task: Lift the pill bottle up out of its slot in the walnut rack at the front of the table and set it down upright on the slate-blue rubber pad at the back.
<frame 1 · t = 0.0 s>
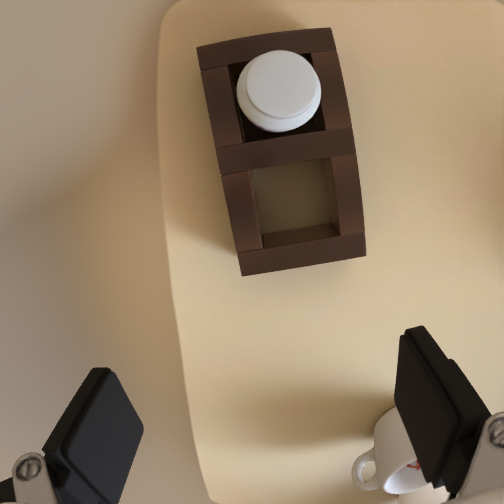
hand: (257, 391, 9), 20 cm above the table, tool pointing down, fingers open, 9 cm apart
rack: (283, 148, 26), on the table
cup: (388, 424, 37), on the table
pill bottle: (274, 102, 25), resting in rack
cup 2: (425, 474, 43), on the table
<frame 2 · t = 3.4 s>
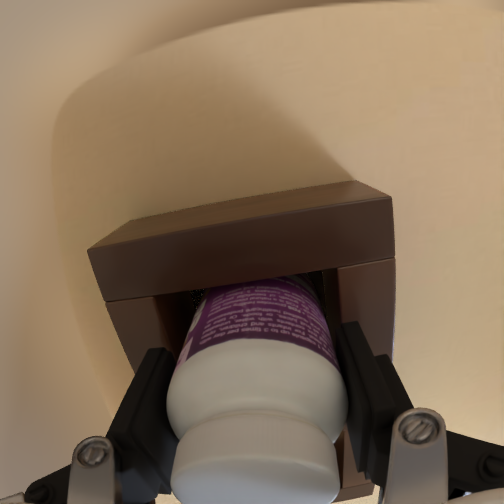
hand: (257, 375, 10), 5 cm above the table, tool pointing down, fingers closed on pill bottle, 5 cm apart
rack: (272, 371, 16), on the table
pill bottle: (259, 303, 15), resting in rack, touching gripper
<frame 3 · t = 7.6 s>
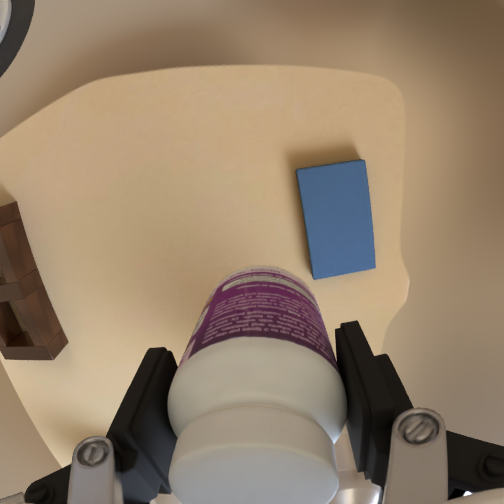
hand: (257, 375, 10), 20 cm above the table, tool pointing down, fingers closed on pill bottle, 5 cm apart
rack: (14, 281, 32), on the table
cup: (172, 470, 43), on the table
pill bottle: (261, 315, 15), point 15 cm above the table, touching gripper
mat: (337, 219, 28), on the table
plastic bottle: (325, 389, 35), on the table
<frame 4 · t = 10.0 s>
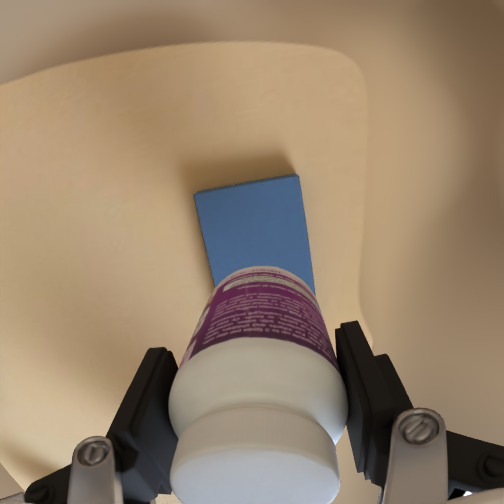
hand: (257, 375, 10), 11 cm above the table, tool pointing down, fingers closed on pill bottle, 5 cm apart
pill bottle: (262, 316, 15), point 6 cm above the table, touching gripper
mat: (261, 261, 20), on the table
when the fingers open (6 cm above the table, at t = 11.6 s): pill bottle stays where it is, resting on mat.
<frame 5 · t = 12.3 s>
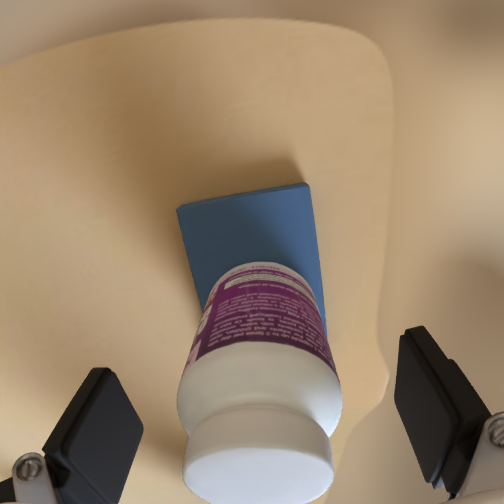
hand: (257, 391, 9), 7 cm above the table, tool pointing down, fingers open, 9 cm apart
pill bottle: (261, 308, 16), point 1 cm above the table, touching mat
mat: (261, 290, 17), on the table
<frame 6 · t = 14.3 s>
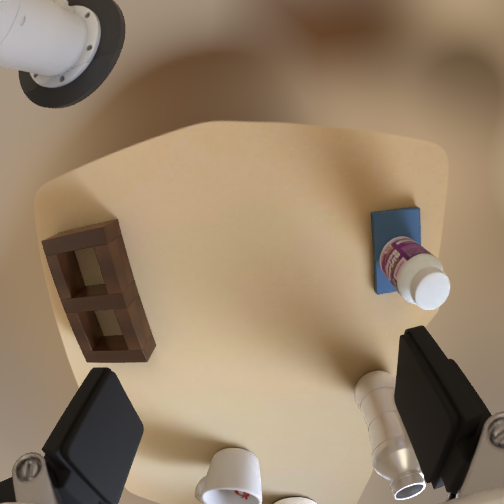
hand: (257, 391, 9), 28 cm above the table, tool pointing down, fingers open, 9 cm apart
rack: (105, 290, 40), on the table
cup: (228, 459, 50), on the table
pill bottle: (397, 256, 36), point 1 cm above the table, touching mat
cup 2: (293, 503, 55), on the table
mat: (396, 249, 36), on the table
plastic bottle: (372, 380, 43), on the table
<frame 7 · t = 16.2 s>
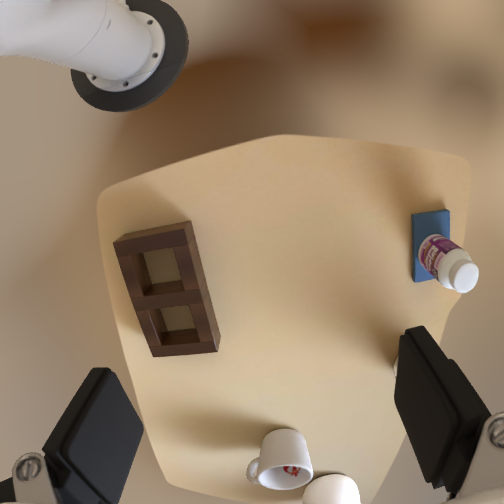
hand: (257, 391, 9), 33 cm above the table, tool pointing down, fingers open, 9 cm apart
rack: (173, 287, 45), on the table
cup: (275, 440, 56), on the table
pill bottle: (431, 250, 41), point 1 cm above the table, touching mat
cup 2: (328, 481, 62), on the table
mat: (430, 245, 42), on the table
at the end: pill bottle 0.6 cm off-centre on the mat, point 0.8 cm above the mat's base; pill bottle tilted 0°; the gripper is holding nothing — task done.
